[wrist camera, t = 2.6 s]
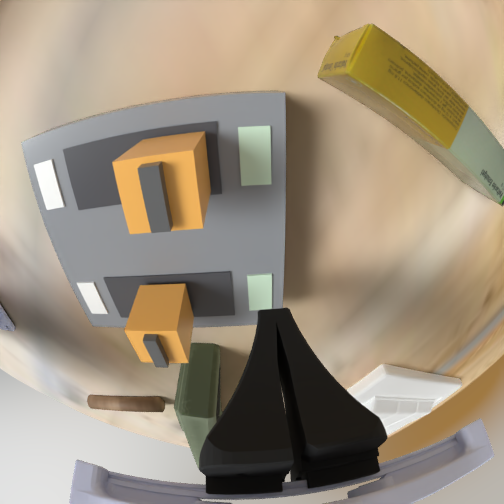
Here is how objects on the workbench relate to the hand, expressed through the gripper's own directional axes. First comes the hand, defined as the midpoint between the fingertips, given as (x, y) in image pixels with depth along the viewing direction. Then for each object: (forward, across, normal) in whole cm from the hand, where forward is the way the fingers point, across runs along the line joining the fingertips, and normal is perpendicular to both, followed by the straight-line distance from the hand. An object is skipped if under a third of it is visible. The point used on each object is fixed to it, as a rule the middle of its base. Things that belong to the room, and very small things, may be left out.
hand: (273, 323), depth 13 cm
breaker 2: (+2, +5, 0) cm, 6 cm away
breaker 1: (+2, +4, -7) cm, 8 cm away
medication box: (+5, -8, -9) cm, 13 cm away
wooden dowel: (+3, +16, +18) cm, 24 cm away
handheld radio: (+5, +6, +20) cm, 21 cm away
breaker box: (+5, +5, -4) cm, 8 cm away
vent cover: (+6, -16, +28) cm, 33 cm away
